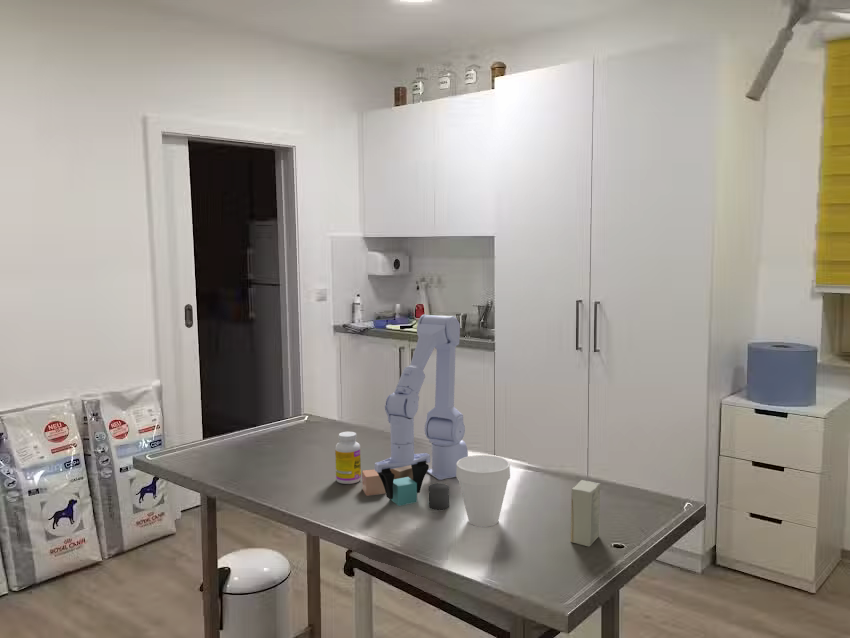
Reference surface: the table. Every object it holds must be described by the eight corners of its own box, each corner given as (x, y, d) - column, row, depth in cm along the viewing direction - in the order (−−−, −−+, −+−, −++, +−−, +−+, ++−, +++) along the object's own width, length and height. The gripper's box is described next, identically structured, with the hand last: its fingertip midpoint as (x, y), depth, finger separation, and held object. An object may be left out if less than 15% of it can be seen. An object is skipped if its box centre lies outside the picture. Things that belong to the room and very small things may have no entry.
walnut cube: (402, 480, 193) (402, 462, 192) (415, 485, 189) (414, 467, 189) (388, 485, 190) (387, 467, 189) (400, 490, 186) (399, 471, 186)
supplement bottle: (357, 485, 190) (355, 438, 188) (332, 484, 191) (331, 437, 189) (364, 476, 196) (362, 430, 195) (340, 475, 198) (339, 429, 196)
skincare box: (580, 532, 159) (581, 479, 157) (600, 536, 157) (601, 482, 155) (569, 542, 154) (570, 488, 152) (589, 547, 151) (590, 491, 150)
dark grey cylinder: (443, 501, 178) (443, 481, 178) (453, 508, 174) (452, 488, 173) (425, 504, 176) (424, 485, 175) (434, 512, 172) (434, 491, 171)
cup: (495, 536, 158) (495, 476, 156) (446, 524, 164) (446, 466, 162) (519, 516, 168) (519, 459, 166) (472, 506, 174) (472, 451, 173)
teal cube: (408, 495, 182) (408, 476, 182) (417, 502, 178) (416, 482, 177) (390, 499, 180) (389, 480, 179) (398, 506, 176) (398, 486, 175)
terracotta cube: (381, 487, 189) (380, 468, 188) (385, 493, 184) (385, 474, 183) (362, 489, 187) (362, 470, 187) (366, 496, 183) (365, 477, 182)
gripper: (420, 432, 184) (420, 484, 186) (368, 442, 177) (369, 495, 179) (434, 439, 178) (434, 492, 180) (381, 449, 171) (382, 504, 173)
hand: (403, 494), depth 179 cm, fingers open, 7 cm apart
